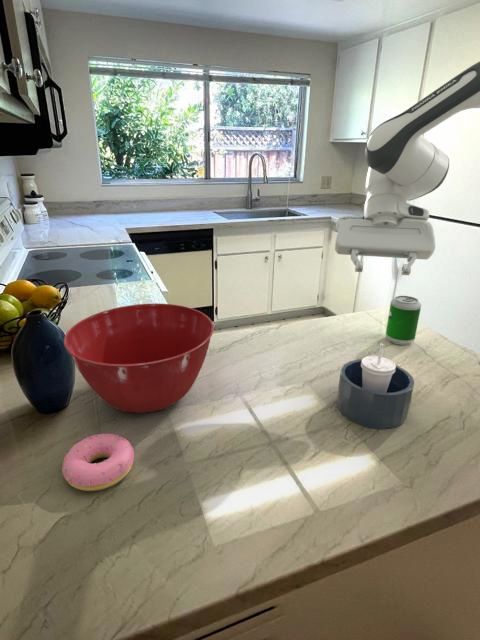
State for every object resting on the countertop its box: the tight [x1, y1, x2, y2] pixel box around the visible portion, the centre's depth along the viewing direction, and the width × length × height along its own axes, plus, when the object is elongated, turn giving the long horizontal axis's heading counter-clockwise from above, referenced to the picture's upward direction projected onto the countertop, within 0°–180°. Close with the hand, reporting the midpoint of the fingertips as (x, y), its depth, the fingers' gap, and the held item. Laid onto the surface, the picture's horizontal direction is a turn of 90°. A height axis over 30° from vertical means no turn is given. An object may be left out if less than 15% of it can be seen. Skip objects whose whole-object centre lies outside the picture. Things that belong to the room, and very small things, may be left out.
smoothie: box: [361, 342, 396, 393], centre depth 78 cm, size 6×6×14 cm
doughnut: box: [61, 432, 135, 492], centre depth 64 cm, size 11×11×4 cm
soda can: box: [385, 295, 422, 346], centre depth 109 cm, size 8×8×12 cm
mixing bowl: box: [63, 302, 215, 414], centre depth 82 cm, size 28×28×16 cm
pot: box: [336, 358, 415, 430], centre depth 80 cm, size 14×14×8 cm
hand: (382, 272), depth 84 cm, fingers open, 8 cm apart
